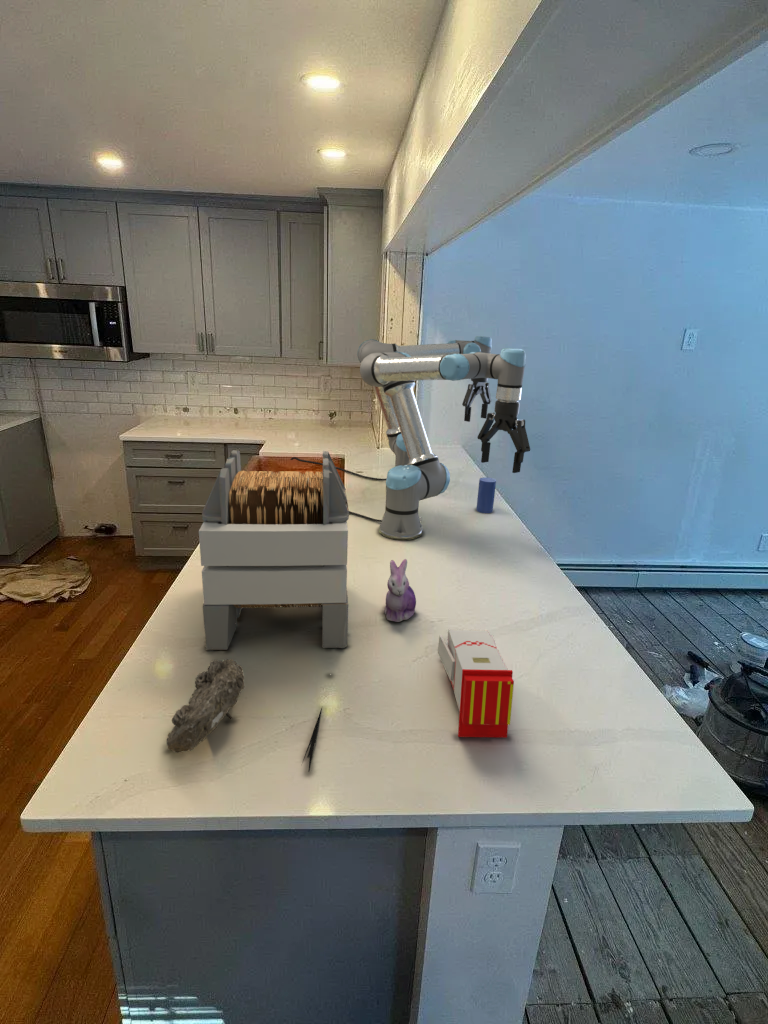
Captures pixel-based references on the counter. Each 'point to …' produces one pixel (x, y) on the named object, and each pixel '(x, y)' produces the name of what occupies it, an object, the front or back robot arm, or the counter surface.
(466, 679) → the toy
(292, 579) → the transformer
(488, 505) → the can
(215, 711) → the fossil
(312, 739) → the feather
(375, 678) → the counter surface
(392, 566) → the figurine
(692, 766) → the counter surface
